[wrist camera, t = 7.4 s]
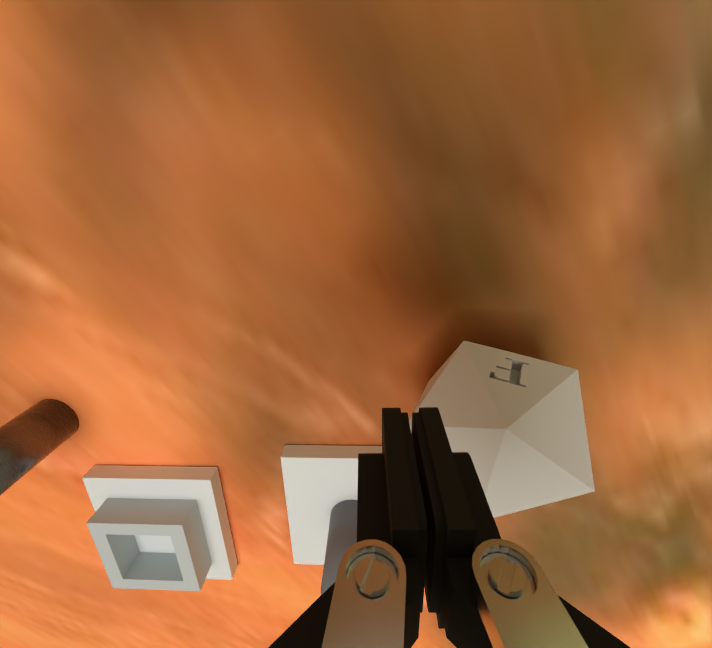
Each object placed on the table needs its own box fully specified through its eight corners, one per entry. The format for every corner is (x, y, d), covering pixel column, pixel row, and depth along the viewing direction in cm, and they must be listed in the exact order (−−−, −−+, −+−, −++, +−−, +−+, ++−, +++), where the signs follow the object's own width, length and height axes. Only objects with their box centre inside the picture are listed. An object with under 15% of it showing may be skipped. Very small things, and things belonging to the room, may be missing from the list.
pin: (27, 399, 24) (-102, 479, 18) (70, 399, 24) (-43, 480, 17) (43, 435, 25) (-73, 524, 19) (84, 436, 25) (-18, 525, 18)
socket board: (94, 465, 26) (58, 501, 23) (217, 466, 25) (196, 504, 22) (129, 561, 30) (102, 603, 27) (237, 564, 29) (222, 608, 26)
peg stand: (284, 444, 24) (257, 526, 19) (418, 446, 24) (433, 530, 18) (297, 548, 28) (277, 643, 22) (413, 551, 28) (424, 649, 22)
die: (575, 376, 22) (650, 351, 13) (544, 518, 21) (602, 596, 12) (444, 342, 25) (433, 302, 16) (409, 466, 24) (375, 498, 15)
